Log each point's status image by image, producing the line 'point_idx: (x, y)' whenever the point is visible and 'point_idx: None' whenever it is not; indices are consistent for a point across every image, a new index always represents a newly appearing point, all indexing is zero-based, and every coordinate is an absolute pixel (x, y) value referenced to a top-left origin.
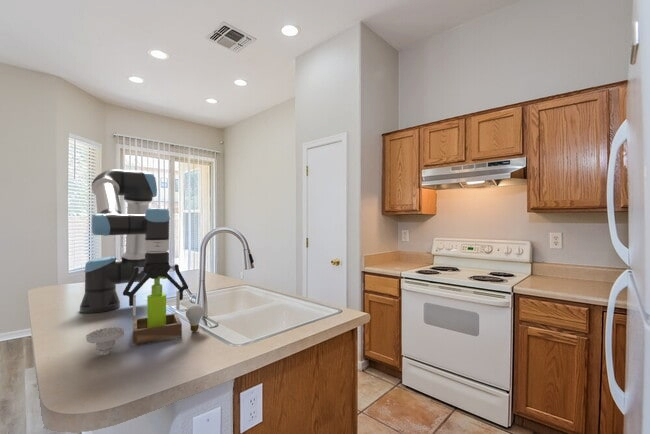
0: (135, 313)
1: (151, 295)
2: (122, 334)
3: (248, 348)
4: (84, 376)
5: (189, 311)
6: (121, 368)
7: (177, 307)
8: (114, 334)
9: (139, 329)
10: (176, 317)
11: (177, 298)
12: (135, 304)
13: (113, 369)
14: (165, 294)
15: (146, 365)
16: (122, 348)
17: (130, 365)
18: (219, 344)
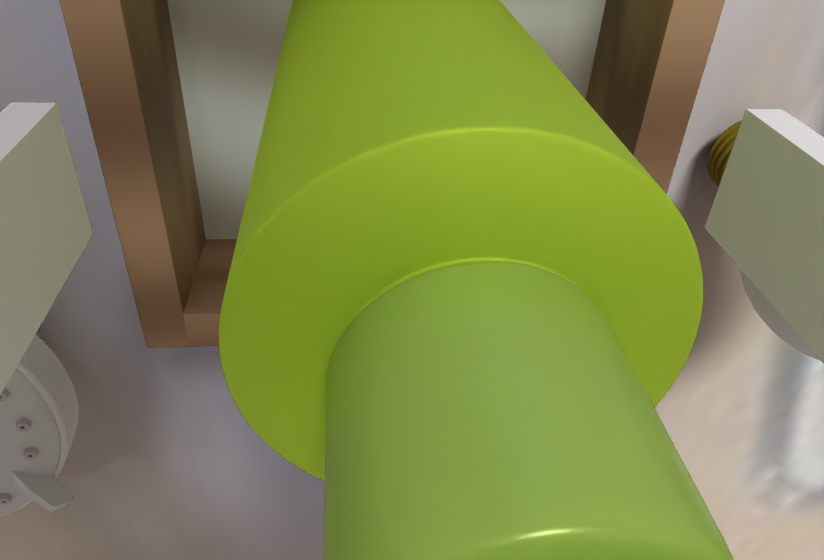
0: (77, 258)
1: (325, 416)
2: (72, 440)
3: (790, 540)
4: (2, 534)
5: (792, 341)
6: (176, 522)
7: (728, 251)
8: (11, 506)
9: (208, 326)
10: (675, 63)
11: (821, 358)
12: (11, 364)
13: (135, 518)
14: (667, 376)
15: (301, 533)
16: (96, 246)
17: (218, 509)
18: (719, 454)
